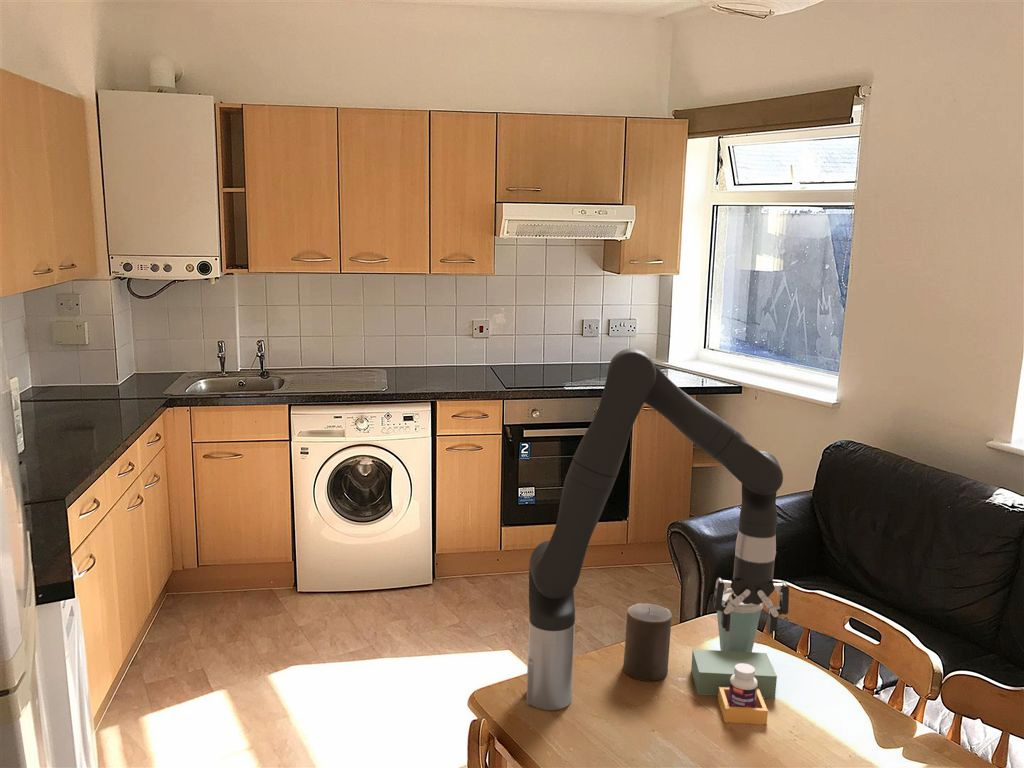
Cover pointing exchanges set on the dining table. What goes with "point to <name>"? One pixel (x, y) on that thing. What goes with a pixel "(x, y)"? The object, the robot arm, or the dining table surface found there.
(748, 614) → the disposable coffee cup
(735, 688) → the pill bottle
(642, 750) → the dining table surface
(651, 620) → the pillar candle
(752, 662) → the green slab
